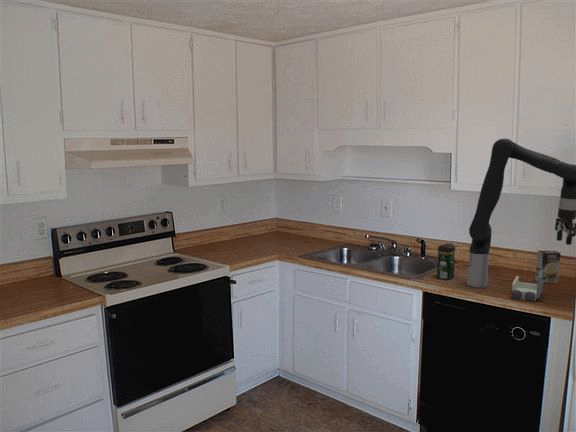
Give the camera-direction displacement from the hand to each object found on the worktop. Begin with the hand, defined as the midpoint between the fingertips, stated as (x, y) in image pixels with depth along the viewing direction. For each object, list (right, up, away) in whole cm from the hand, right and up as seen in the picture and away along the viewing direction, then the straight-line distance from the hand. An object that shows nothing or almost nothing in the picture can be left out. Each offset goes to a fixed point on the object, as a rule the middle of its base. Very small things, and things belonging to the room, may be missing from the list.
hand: (563, 242), depth 241 cm
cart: (-15, -26, +7) cm, 30 cm away
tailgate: (-10, -25, +4) cm, 27 cm away
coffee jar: (-43, -21, +39) cm, 62 cm away
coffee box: (+7, -22, +30) cm, 38 cm away
